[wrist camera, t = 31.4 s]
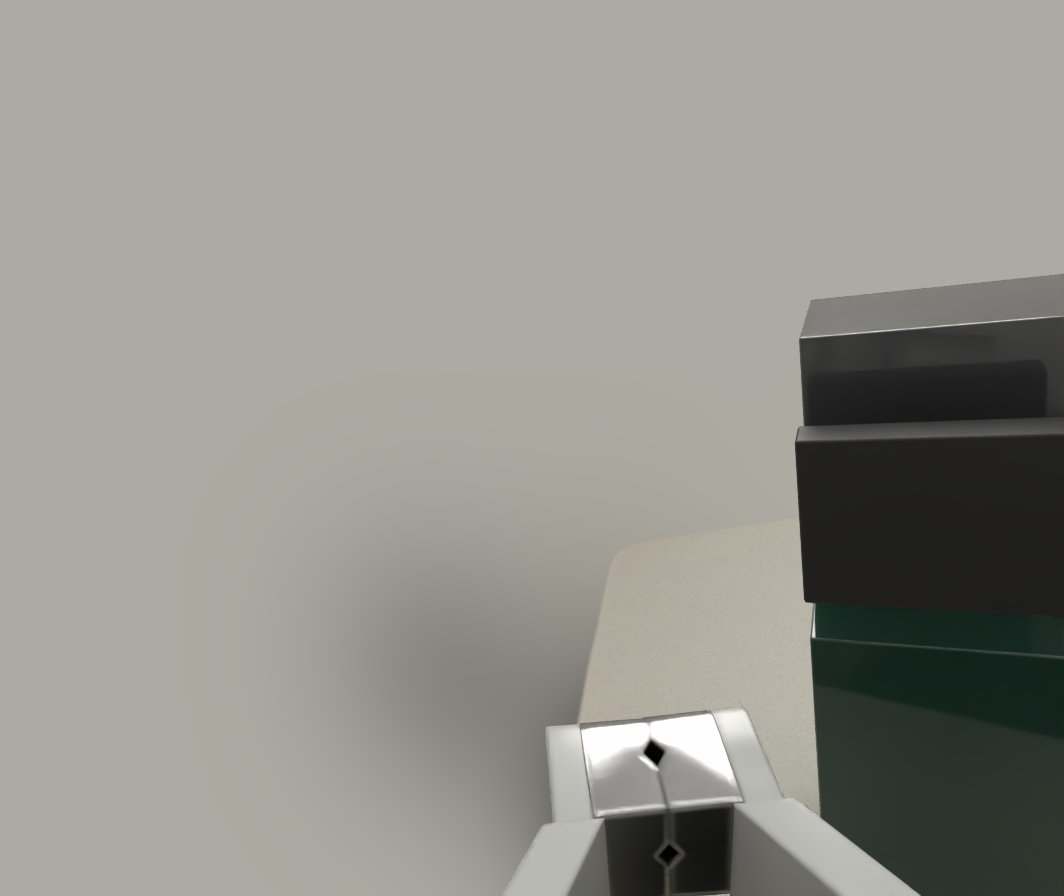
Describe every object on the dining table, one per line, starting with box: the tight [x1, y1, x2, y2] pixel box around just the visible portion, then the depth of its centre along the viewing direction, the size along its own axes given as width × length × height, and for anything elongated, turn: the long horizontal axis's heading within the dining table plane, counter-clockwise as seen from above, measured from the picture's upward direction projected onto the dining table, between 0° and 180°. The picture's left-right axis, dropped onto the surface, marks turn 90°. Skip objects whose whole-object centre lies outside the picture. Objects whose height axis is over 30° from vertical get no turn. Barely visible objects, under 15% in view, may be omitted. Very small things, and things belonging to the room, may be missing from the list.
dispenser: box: [799, 274, 1064, 896], centre depth 22 cm, size 8×13×21 cm, turn 67°
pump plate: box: [795, 417, 1064, 617], centre depth 17 cm, size 1×6×4 cm, turn 68°
